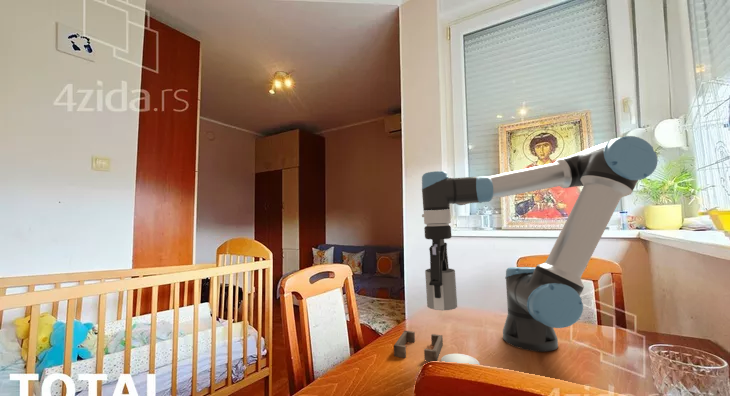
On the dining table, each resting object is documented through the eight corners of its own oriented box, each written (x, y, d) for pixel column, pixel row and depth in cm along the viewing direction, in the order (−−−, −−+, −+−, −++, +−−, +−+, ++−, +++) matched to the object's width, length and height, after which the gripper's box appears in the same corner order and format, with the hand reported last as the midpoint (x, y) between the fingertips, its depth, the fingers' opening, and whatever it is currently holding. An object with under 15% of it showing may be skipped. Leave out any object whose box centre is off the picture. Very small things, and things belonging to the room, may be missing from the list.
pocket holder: (442, 345, 92) (442, 335, 92) (436, 363, 81) (436, 351, 81) (405, 339, 97) (404, 330, 97) (394, 356, 86) (393, 345, 86)
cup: (458, 310, 80) (455, 273, 81) (426, 310, 82) (424, 273, 83) (456, 301, 88) (453, 267, 89) (427, 301, 90) (425, 267, 91)
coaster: (480, 358, 83) (480, 356, 83) (479, 376, 74) (479, 374, 74) (443, 352, 87) (443, 351, 87) (438, 369, 78) (438, 367, 78)
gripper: (431, 224, 98) (436, 294, 96) (415, 227, 79) (420, 315, 77) (455, 223, 95) (460, 295, 93) (444, 226, 75) (450, 317, 74)
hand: (442, 304), depth 85 cm, fingers closed on cup, 8 cm apart
